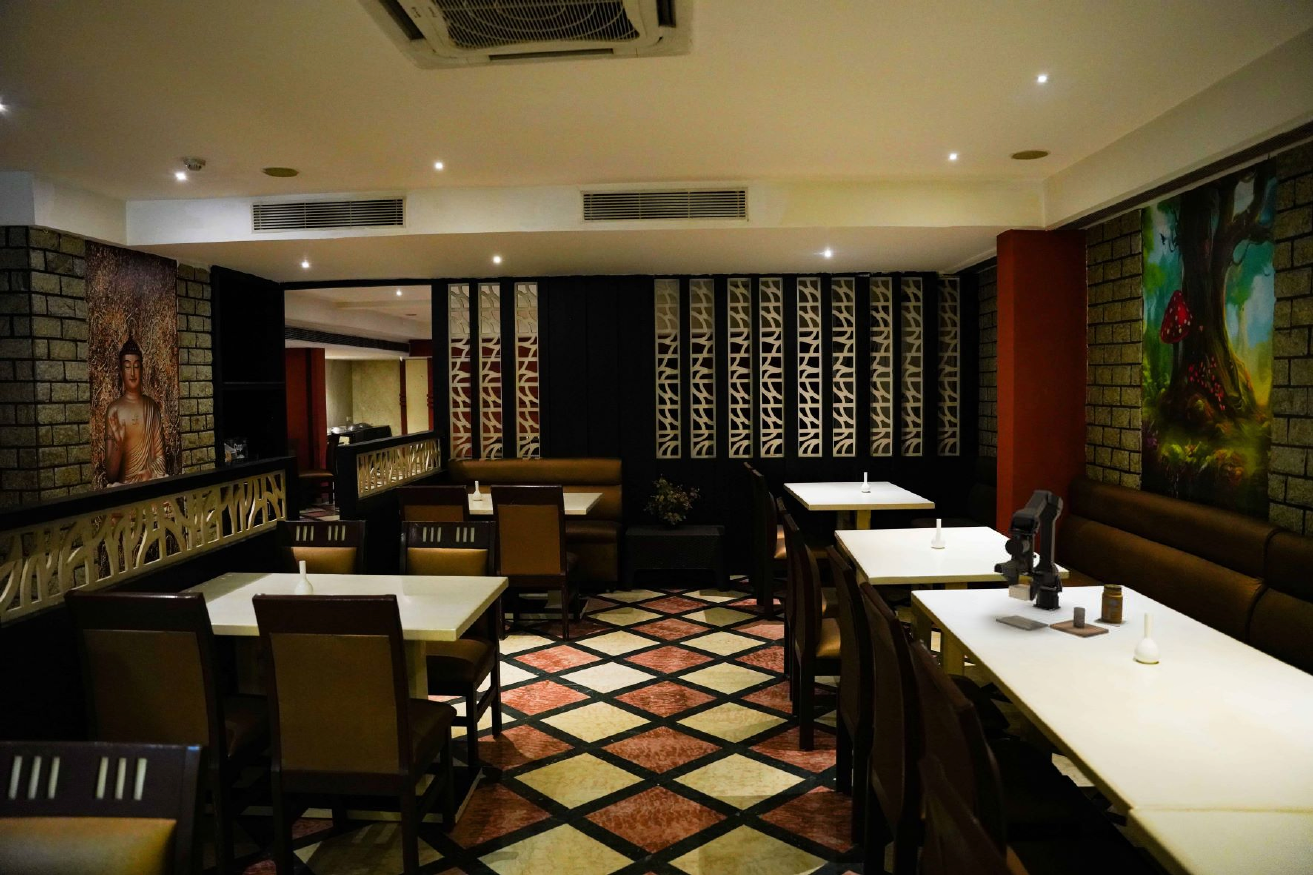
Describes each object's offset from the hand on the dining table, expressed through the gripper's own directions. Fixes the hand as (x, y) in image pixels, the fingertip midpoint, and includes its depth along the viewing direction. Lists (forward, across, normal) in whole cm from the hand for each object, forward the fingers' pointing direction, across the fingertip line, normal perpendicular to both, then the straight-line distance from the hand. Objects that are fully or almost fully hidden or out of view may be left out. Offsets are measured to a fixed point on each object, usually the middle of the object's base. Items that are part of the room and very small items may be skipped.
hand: (1022, 598), depth 257 cm
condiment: (+9, +12, +28) cm, 32 cm away
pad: (+8, 0, 0) cm, 8 cm away
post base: (+8, +13, +10) cm, 18 cm away
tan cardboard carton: (0, 0, 0) cm, 0 cm away
